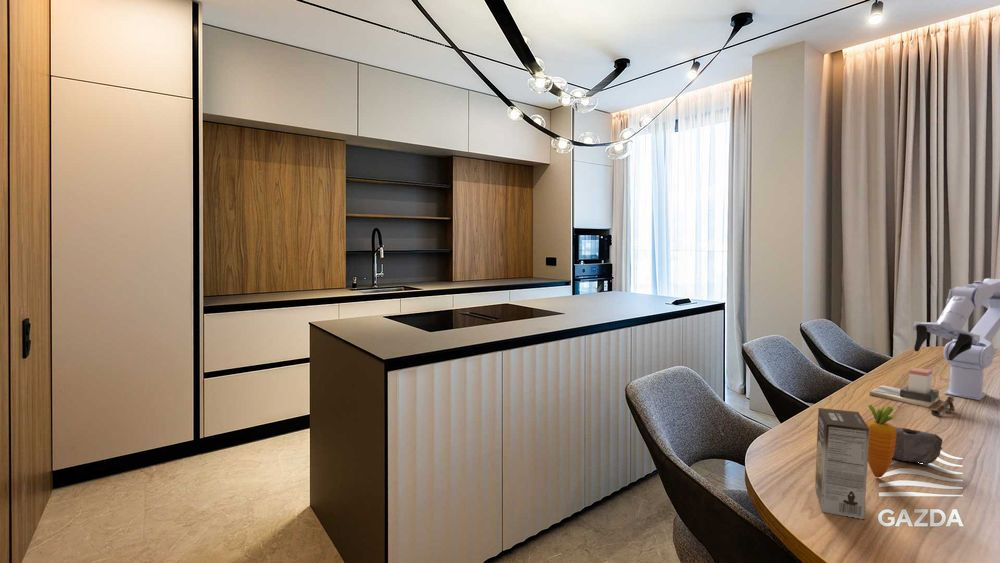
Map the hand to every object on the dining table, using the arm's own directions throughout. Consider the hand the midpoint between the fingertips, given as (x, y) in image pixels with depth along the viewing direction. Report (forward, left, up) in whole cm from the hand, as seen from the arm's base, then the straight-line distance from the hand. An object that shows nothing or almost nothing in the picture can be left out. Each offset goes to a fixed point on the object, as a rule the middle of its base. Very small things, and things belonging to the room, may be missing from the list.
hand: (932, 353), depth 139 cm
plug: (-3, -3, -14) cm, 15 cm away
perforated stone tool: (+50, +5, -15) cm, 52 cm away
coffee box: (+81, +5, -15) cm, 82 cm away
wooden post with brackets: (+6, +4, -15) cm, 17 cm away
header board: (-3, -7, -15) cm, 17 cm away
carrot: (+64, +6, -15) cm, 66 cm away
